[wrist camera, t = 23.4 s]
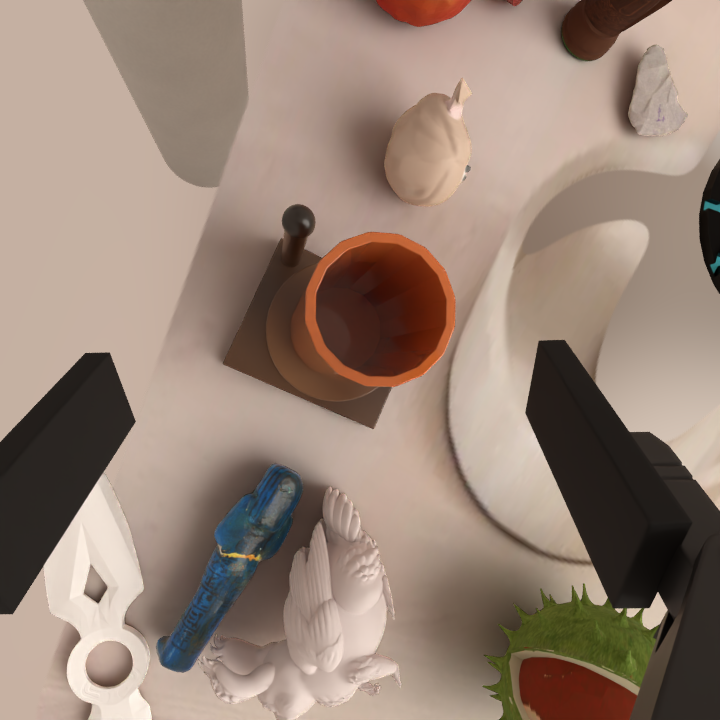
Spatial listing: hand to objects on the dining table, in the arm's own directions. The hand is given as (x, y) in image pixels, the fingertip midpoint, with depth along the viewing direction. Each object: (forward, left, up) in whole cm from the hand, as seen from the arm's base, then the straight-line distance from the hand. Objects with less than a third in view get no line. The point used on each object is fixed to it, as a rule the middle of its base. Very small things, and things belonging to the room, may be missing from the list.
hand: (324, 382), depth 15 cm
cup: (-4, +1, -15) cm, 16 cm away
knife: (+21, -5, -21) cm, 30 cm away
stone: (-34, +18, -21) cm, 44 cm away
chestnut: (+5, +29, -16) cm, 34 cm away
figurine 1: (+14, +2, -21) cm, 25 cm away
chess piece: (-36, +11, -21) cm, 43 cm away
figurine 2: (+11, +12, -17) cm, 23 cm away
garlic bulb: (-18, +2, -21) cm, 28 cm away
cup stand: (-4, +1, -21) cm, 21 cm away
